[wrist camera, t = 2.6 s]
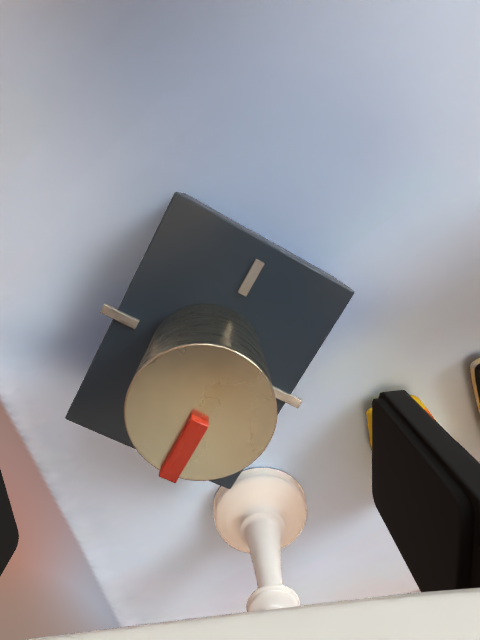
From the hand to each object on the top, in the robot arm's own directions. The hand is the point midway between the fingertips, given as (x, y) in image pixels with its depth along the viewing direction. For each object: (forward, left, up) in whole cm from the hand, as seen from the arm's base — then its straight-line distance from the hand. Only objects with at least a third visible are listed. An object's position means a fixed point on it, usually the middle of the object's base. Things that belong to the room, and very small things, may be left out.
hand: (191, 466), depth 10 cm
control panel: (0, 0, -9) cm, 9 cm away
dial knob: (0, 0, -6) cm, 6 cm away
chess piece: (+10, +2, -10) cm, 14 cm away
